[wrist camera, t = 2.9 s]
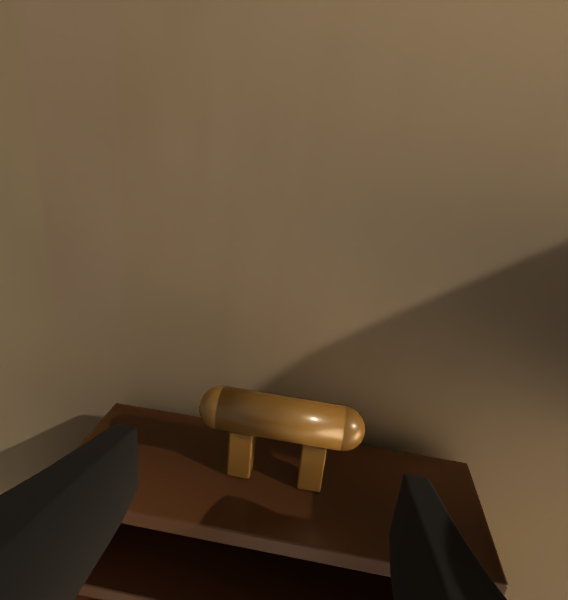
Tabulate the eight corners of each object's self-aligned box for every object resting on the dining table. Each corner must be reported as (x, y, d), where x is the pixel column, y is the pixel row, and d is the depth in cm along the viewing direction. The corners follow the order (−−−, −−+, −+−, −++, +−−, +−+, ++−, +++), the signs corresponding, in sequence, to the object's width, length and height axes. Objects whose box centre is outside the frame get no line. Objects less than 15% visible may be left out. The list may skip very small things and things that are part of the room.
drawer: (443, 754, 15) (542, 499, 11) (59, 663, 17) (25, 407, 13) (422, 610, 20) (488, 392, 16) (122, 548, 22) (112, 334, 17)
